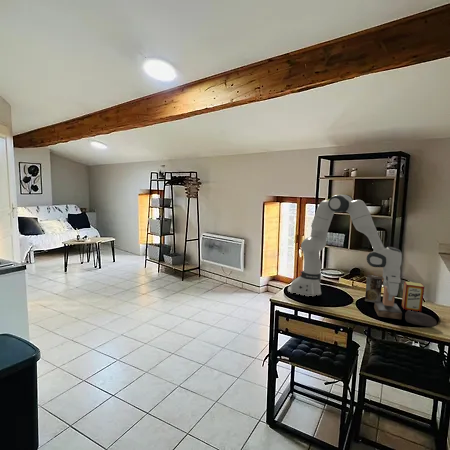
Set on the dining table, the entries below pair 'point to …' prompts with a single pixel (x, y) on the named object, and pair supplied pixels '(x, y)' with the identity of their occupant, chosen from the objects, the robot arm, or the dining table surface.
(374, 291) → the coffee box
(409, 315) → the perforated stone tool
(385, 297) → the terracotta block
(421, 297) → the ginger box
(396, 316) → the block
